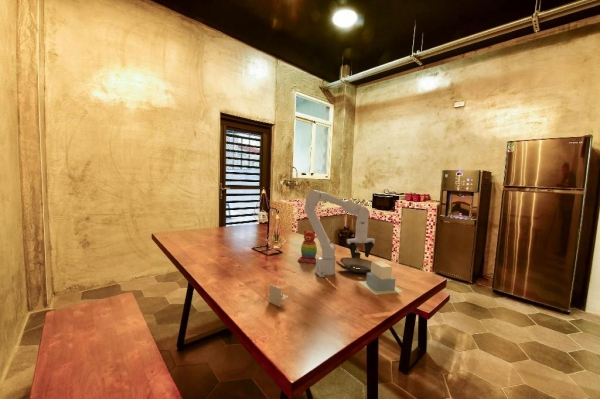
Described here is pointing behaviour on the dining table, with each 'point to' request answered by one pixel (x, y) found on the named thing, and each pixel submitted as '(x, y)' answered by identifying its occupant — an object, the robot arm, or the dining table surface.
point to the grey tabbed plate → (276, 295)
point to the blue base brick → (380, 283)
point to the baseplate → (380, 291)
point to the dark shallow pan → (356, 263)
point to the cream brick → (381, 270)
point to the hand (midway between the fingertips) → (359, 257)
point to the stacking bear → (308, 248)
